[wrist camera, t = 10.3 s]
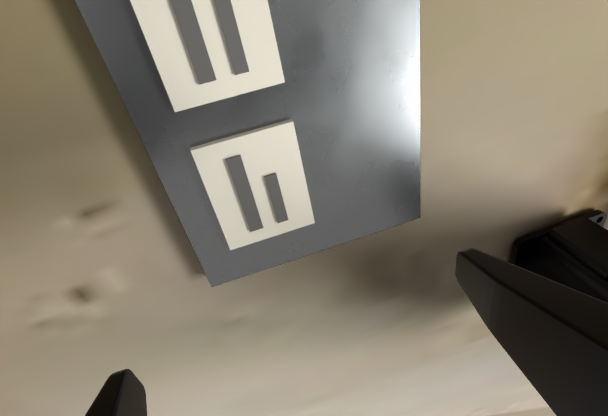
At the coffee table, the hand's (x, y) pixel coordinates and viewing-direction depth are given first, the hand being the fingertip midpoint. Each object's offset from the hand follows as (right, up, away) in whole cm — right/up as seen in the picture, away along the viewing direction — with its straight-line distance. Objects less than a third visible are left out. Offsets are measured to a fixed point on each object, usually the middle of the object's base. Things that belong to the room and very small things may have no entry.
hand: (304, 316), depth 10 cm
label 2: (-2, +4, +6) cm, 8 cm away
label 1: (-3, +9, +3) cm, 10 cm away
